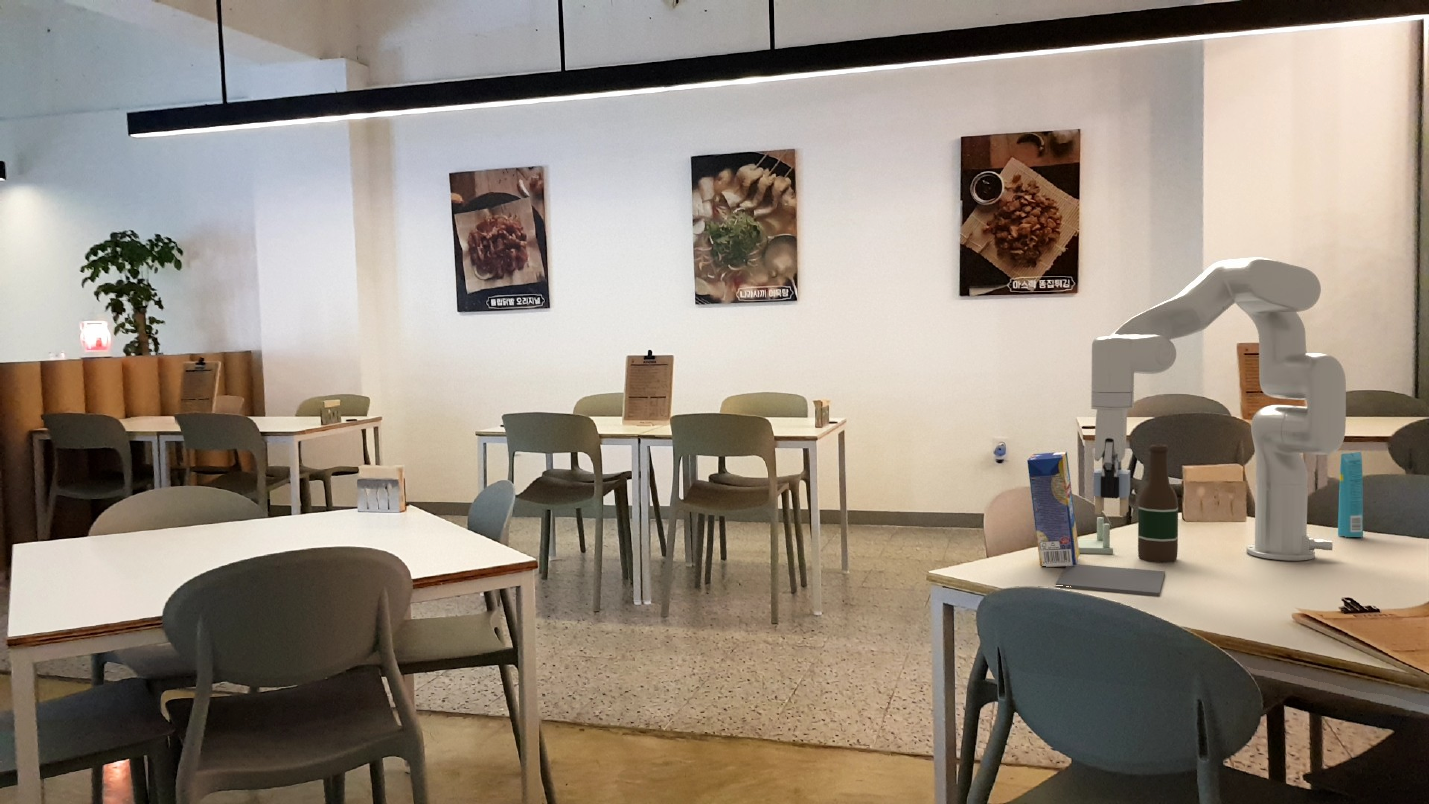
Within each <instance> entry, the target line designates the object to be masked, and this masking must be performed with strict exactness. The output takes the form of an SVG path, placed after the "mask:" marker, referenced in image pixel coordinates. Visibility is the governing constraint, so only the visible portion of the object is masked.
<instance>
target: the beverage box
mask: <svg viewBox="0 0 1429 804" xmlns="http://www.w3.org/2000/svg"><path fill="white" fill-rule="evenodd" d="M1026 460H1027V468H1028V476H1029V477H1028V478H1029V484H1030V485H1029V487H1030V492H1031V502H1032V503H1031V504H1032V511H1033V519H1034V525H1035V535H1036V541H1037V542H1036V543H1037V551H1038V558H1039V559H1038V560H1039V566H1046V567H1045V568H1048V567H1049V568H1050V567H1066V566H1075V565H1076V564H1077V563H1078V559H1079V557H1080V553H1079V547H1078V539H1077V538H1078V533H1077V524H1076V516H1075V515H1076V514H1075V507H1074V500H1073V491H1072V482H1071V474H1070V473H1071V472H1070V467H1069V466H1070V465H1069V458H1068V451H1057V452H1056V451H1055V452H1043V453H1033V454H1032V455H1031V456H1030V457H1029V458H1028V459H1026Z"/></svg>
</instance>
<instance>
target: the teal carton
mask: <svg viewBox="0 0 1429 804" xmlns="http://www.w3.org/2000/svg"><path fill="white" fill-rule="evenodd" d="M1340 457H1341V458H1340V467H1339V468H1340V469H1339V486H1338V487H1339V491H1338V515H1337V516H1338V519H1337V535H1339V537H1340V536H1345V537H1344V538H1346V537H1361V538H1363V537H1362V536H1364V501H1363V499H1364V491H1363V490H1364V489H1363V487H1364V486H1363V483H1364V482H1363V480H1364V479H1363V478H1364V477H1363V476H1364V475H1363V458H1362V452H1361V451H1356V452H1348V453H1344V452H1343V453H1341V455H1340Z"/></svg>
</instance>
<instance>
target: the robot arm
mask: <svg viewBox="0 0 1429 804" xmlns="http://www.w3.org/2000/svg"><path fill="white" fill-rule="evenodd" d="M1321 286H1322V285H1321V282H1320V280H1319V278H1318V276H1317V275H1316V274H1315V273H1314V272H1313V271H1311V270H1310V269H1308V268H1305V267H1301V266H1299V265H1294V264H1290V263H1286V262H1284V261H1283V262H1282V261H1279V260H1274V259H1270V258H1265V257H1248V258H1238V259H1237V258H1236V259H1226V260H1220V261H1217V262H1215V263H1213V264H1211V265H1210V266H1208V268H1206V269H1205V270H1203V272H1202V273H1200V274H1199V275H1198V276H1197V277H1196V278H1195V279H1193V280H1192V281H1191V282H1190V283H1189V284H1188V285H1187V286H1185V287H1184V288H1183V289H1182V290H1181V291H1180V292H1179V293H1177V294H1176V295H1175V296H1173V297H1172V298H1170V299H1168V300H1165V301H1163V302H1161V303H1159V304H1157V305H1155V306H1153V307H1151V308H1148V309H1147V310H1145V311H1143V312H1140V313H1139V314H1137V315H1135V316H1133V317H1131V318H1129V319H1128V320H1126V321H1125V322H1124V323H1122V324H1121V325H1120V326H1119V327H1118V328H1116V329H1115V330H1114V331H1113V332H1112V333H1111V334H1110V335H1109V336H1107V335H1106V336H1099V337H1096V338H1094V340H1092V344H1091V385H1090V386H1091V389H1090V390H1091V397H1090V398H1091V401H1090V402H1091V403H1090V404H1091V405H1090V407H1091V409H1092V410H1096V413H1095V414H1096V415H1095V428H1094V429H1095V431H1094V456H1093V458H1094V459H1093V460H1095V462H1099V461H1100V460H1101V469H1102V476H1101V497H1102V498H1104V499H1119V498H1118V497H1119V477H1118V470H1123V469H1122V460H1123V459H1124V458H1125V456H1126V448H1127V430H1128V429H1127V427H1128V425H1127V424H1128V411H1130V410H1134V408H1135V407H1134V406H1135V405H1134V404H1135V403H1134V402H1135V401H1134V399H1135V393H1134V391H1135V389H1134V388H1135V374H1143V375H1144V374H1146V375H1148V374H1149V375H1153V374H1154V375H1156V374H1162V373H1164V372H1166V371H1167V370H1169V369H1171V367H1172V366H1173V365H1174V363H1175V361H1176V359H1177V348H1176V346H1175V345H1174V344H1175V343H1173V342H1172V341H1171V340H1175V339H1180V338H1183V337H1187V336H1191V335H1194V334H1197V333H1199V332H1202V331H1204V330H1205V329H1207V328H1208V327H1209V326H1210V325H1211V324H1212V323H1214V321H1216V319H1219V317H1220V316H1221V315H1223V313H1225V312H1226V311H1228V309H1230V308H1231V306H1233V305H1234V304H1236V305H1237V306H1238V307H1239V308H1240V309H1241V310H1242V311H1243V312H1245V314H1246V315H1247V316H1248V317H1249V318H1250V319H1251V320H1252V322H1253V323H1254V325H1255V327H1256V330H1257V334H1258V344H1259V345H1258V347H1259V348H1258V362H1259V363H1258V365H1259V366H1258V367H1259V368H1258V369H1259V373H1258V374H1259V375H1258V377H1259V386H1260V389H1261V391H1262V393H1263V394H1264V395H1266V396H1267V397H1270V398H1275V399H1284V400H1295V401H1296V400H1298V401H1299V400H1301V401H1306V406H1301V405H1289V404H1288V405H1287V404H1271V405H1268V406H1264V407H1262V408H1260V409H1259V410H1257V411H1256V413H1255V414H1254V415H1253V417H1252V420H1251V424H1250V429H1251V437H1252V442H1253V446H1254V453H1255V506H1254V507H1255V508H1254V509H1255V510H1254V511H1255V512H1254V516H1255V517H1254V543H1253V544H1248V545H1247V546H1246V551H1245V552H1246V553H1247V554H1249V555H1250V556H1253V557H1257V558H1261V559H1262V558H1263V559H1267V560H1276V561H1277V560H1278V561H1288V562H1289V561H1292V562H1293V561H1295V562H1296V561H1307V560H1308V559H1309V560H1312V559H1314V558H1315V557H1316V552H1315V550H1322V551H1333V540H1325V539H1315V538H1311V537H1310V536H1309V533H1308V532H1307V531H1308V530H1307V529H1308V523H1307V522H1308V490H1309V489H1308V488H1309V487H1308V483H1309V472H1308V469H1307V466H1306V462H1305V460H1304V459H1303V457H1302V455H1301V454H1308V455H1309V454H1310V455H1320V456H1322V455H1323V456H1325V455H1326V456H1327V455H1331V454H1334V453H1335V452H1337V451H1338V450H1339V449H1340V448H1341V447H1342V444H1343V442H1344V439H1345V435H1346V419H1347V418H1346V416H1347V412H1346V411H1347V400H1346V399H1347V392H1346V391H1347V382H1346V375H1345V370H1344V368H1343V366H1342V364H1341V363H1340V361H1339V360H1338V359H1337V358H1335V356H1332V355H1331V354H1326V353H1312V352H1311V353H1308V352H1307V341H1306V340H1307V339H1306V328H1305V325H1304V323H1303V321H1302V318H1301V317H1300V315H1299V314H1298V313H1300V312H1304V311H1307V310H1309V309H1311V308H1313V307H1314V306H1315V305H1316V304H1317V303H1318V301H1319V299H1320V296H1321V291H1322V289H1321V288H1322V287H1321ZM1300 453H1301V454H1300ZM1309 560H1308V561H1309Z"/></svg>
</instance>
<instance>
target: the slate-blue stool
mask: <svg viewBox="0 0 1429 804" xmlns="http://www.w3.org/2000/svg"><path fill="white" fill-rule="evenodd" d="M1101 476H1102V468H1096V469H1095V471H1093V485H1092V486H1093V490H1092V491H1093V493H1092V495H1093V497H1094V515H1102V512H1104V511H1105V498H1102V497H1101ZM1118 477H1119V497H1118V498H1117V499H1119V516H1120V517H1126V516H1127V513H1128V512H1129V496H1130V494H1131V470H1130V469H1121V470H1118Z"/></svg>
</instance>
